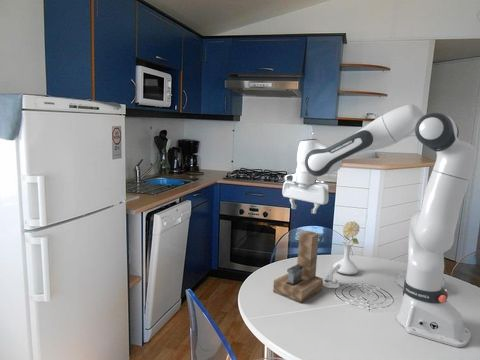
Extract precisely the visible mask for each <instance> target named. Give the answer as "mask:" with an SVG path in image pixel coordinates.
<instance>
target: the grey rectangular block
mask: <svg viewBox="0 0 480 360" xmlns="http://www.w3.org/2000/svg"><path fill="white" fill-rule="evenodd" d="M303 267H304V265H301V264H295V265H293V266H291V267H289V268H287V269H286V273H287V274H288V284H289V285H292V286H294V285H296V284H298V283H300V282H301V277H302V269H303Z"/></svg>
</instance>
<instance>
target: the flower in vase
mask: <svg viewBox="0 0 480 360" xmlns="http://www.w3.org/2000/svg"><path fill="white" fill-rule="evenodd" d="M358 233H360V225H359V223H357V222H356V221H355V220H353V221H351V220H350V221H349V222H348V221H347V222H346V223H344V225H343V226H342V235H343V237H344V238H345V239H346V240H348V241H345V240H344V241H342V246H343V248H344V254H343V257H342V258H340V260H338V261H336V262H335V263H333V265H332V269H333V268H334V267H335V266H336V265H337V264H340V265H341V267H340V268H339V269H338V270H337V271H336V273H340V274H343V275H355V274H357V273H358V272H359V268H358V266H357V265H356V264H355V263H354V262H353V261H352V260H351V258H350V253H351V249H352V247H353V245H354V244H355V245H359V244H360V241H359V240H358V238H356V236H357V235H358ZM350 238H351V239H350Z"/></svg>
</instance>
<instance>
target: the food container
mask: <svg viewBox="0 0 480 360" xmlns="http://www.w3.org/2000/svg"><path fill="white" fill-rule="evenodd" d="M398 275H399V276H398V278H399V279H398V278H396V283H397V285H398V286H399V287H401V288H403V285H404V281H405V280H406V275H407V270H404V271H402V272H401V271H400V272H399V273H398ZM446 285H447V280H446V279H445V277H443V281H442V288H443V289H444V290H445V289H447V290H448V287H447V286H446Z"/></svg>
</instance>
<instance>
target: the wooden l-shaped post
mask: <svg viewBox="0 0 480 360" xmlns="http://www.w3.org/2000/svg"><path fill="white" fill-rule="evenodd" d="M298 235H299V236H298V247H297V248H298V249H297V250H298V251H297V260H296V261H297V264H301V265H304V267H303V269H302V277H301V282H300V283H298V284H296V285H294V286H292V285H289V284H288V273H286V274H284V275H282V276H279V277H278V278H275V279H274V280H273V286H272V287H273V289H272V292H273V293H275V294H276V295H279V296H282V297H285V298H287V299H289V300H292V301H294V302H296V303H299V304H302V303H304V302H305V301H308V300H309V299H311V298H312V297H314V296H315V295H317V294H319V293H320V292H322V291H323V287H324V286H323V279H324V278H323V277H321V276H320V277H319V276H317V275H316V274H317V273H316V272H317V262H318V261H317V260H318V248H319V236H320V234H319V233H316V232H312V231H307V230H304V231H302V232H299V234H298ZM297 264H296V265H297Z"/></svg>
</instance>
